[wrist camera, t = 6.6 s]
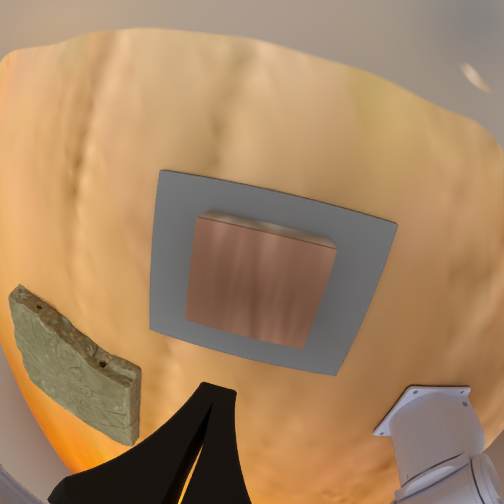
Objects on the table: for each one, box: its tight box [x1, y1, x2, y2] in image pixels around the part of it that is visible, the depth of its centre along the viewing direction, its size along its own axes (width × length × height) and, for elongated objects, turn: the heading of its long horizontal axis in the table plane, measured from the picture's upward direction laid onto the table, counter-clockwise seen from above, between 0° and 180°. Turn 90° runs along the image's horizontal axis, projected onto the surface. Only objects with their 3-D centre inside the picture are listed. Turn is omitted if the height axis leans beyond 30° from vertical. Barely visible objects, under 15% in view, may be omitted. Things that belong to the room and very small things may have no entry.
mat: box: [150, 170, 398, 376], centre depth 19 cm, size 16×13×1 cm
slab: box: [185, 210, 337, 349], centre depth 17 cm, size 2×7×8 cm
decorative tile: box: [8, 285, 141, 446], centre depth 26 cm, size 19×20×4 cm
